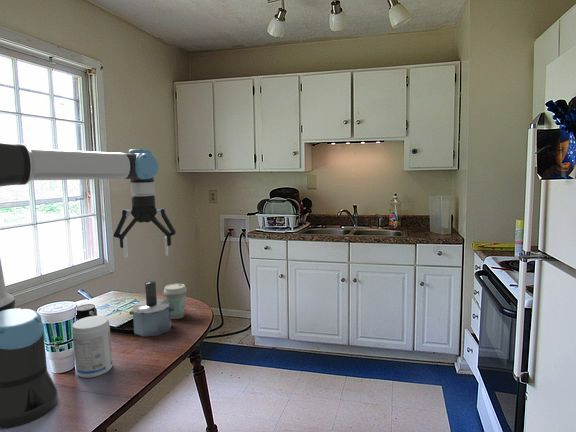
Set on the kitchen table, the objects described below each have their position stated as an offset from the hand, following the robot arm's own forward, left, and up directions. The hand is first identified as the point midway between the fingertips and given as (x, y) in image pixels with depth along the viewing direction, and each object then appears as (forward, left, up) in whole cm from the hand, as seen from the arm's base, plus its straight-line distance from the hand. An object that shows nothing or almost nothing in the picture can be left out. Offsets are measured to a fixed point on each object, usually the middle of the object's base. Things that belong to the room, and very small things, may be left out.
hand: (146, 256), depth 140 cm
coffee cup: (+11, -8, -27) cm, 30 cm away
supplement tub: (-27, +11, -27) cm, 40 cm away
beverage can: (-6, +19, -27) cm, 34 cm away
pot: (0, -1, -27) cm, 27 cm away
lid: (0, -1, -19) cm, 19 cm away
